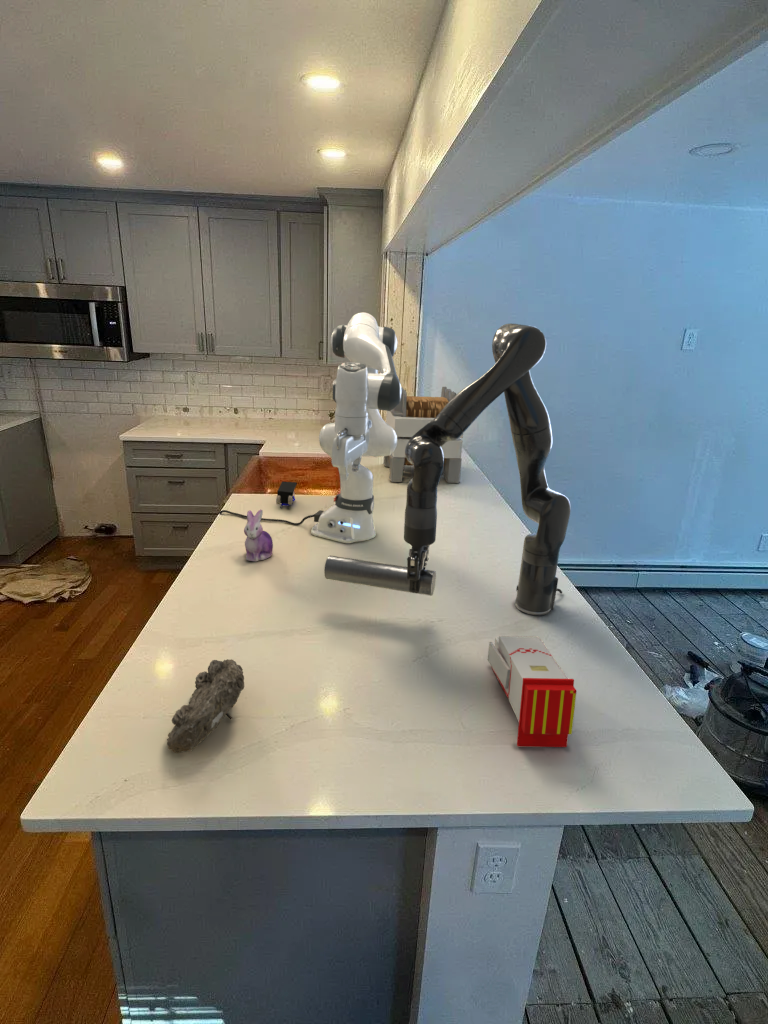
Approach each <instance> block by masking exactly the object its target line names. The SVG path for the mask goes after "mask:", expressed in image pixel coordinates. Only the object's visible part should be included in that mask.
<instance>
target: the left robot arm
mask: <svg viewBox="0 0 768 1024" xmlns="http://www.w3.org/2000/svg"><path fill="white" fill-rule="evenodd" d="M330 347H331V349H332V353H333V354H334V355H335V356H336V357H338V358H342V359H345V358H347V360H348V361H346V362H342V363H340V364H339V365H338V366H337V371H336V377H335V379H334V380H333V381H332V400H333V401H334V402H335V405H336V406H335V411H334V422H330V423H325V424H324V425H323V426H322V427H321V429H320V431H319V434H318V442H319V446H320V448H321V450H322V451H323V452H324V453H325V454H327V455H328V456H329V457H330V459H331V465H332V467H333V468H337V470H338V473H339V483H340V484H339V485H340V488H339V489H340V490H339V491H338V492H337V494H336V495H335V496H334V497H333V502H334V504H333V505H331V506H329V507H328V508H326V509H325V510H322V509H321V510H318V511H317V512H315V513H314V514H310V515H306V516H305V517H303V518H302V519H301V520H300V521H299V522H292V521H289V520H285V519H278V518H277V519H276V518H264V517H262V518H261V521H264V522H279V523H286V524H289V525H293V526H300V525H302V524H303V523H304V522H305V520H307V519H311V518H313V522H314V523H315V524H314V525H313V526H312V528H311V530H310V533H311V536H315V537H319V538H323V539H326V540H330V541H336V542H339V543H343V544H352V543H357V542H365V541H368V540H372V539H373V538H375V537H376V535H377V532H376V528H375V523H374V513H373V512H374V509H375V496H374V474H373V472H372V471H371V469H369V468H368V467H366V466H365V465H363V464H362V463H361V461H362V459H363V457H364V458H384V456H389V455H391V454H392V453H393V452H394V450H395V449H396V446H397V435H396V433H395V431H394V429H393V428H392V427H391V426H389V425H388V424H387V423H386V420H384V419H383V417H382V415H381V414H380V411H386V412H387V411H391V410H392V409H394V408H395V407H396V406H398V405H399V403H400V400H401V394H402V390H401V387H402V385H401V382H400V378H399V377H398V374H397V369H396V366H395V363H394V359H393V357H394V356H395V353H396V351H397V349H398V337H397V335H396V331H395V330H394V328H391V327H388V326H379V324H378V321H377V320H376V317H375V316H374V315H372V314H370V313H368V312H357V313H355V314H353V316H351V317H350V319H349V321H348V323H347V324H340V325H337V326H335V328H333V329H332V333H331V336H330ZM223 513H227V514H230V515H234V516H237V517H241V518H245V519H247V515H245V514H241V513H238V512H233V511H231V510H226V509H222V510H220V511H219V512H218V515H221V514H223Z"/></svg>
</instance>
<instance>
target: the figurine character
mask: <svg viewBox="0 0 768 1024" xmlns="http://www.w3.org/2000/svg"><path fill="white" fill-rule="evenodd" d="M297 484H298V482H296V481H295V482H294V481H284V480H283V481H281V483H280V485H279V487H278V489H277V494H276V498H275V499H276V500H275V503H276V505H279V508H280V509H283V506H285V507H287V509H290V508H291V506H292V505H293V503H294V502H295V501H296V497H295V496H296V492H295V489H296V488H297Z"/></svg>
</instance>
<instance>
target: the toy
mask: <svg viewBox="0 0 768 1024" xmlns="http://www.w3.org/2000/svg"><path fill="white" fill-rule="evenodd" d="M488 643H489V644H488V651H487V658H486V659H487V662H488V664H489V666H490V668H491V669H492V672H493V674H494V675H495V677H496V679H497V681H498V682H499V684H500V687H501V688H502V691H503V692H504V694H505V697H507V699H508V702H509V705H510V706H511V709H512V710H513V713H514V714H515V717H516V720H517V721H518V728H517V729H518V730H517V741H516V746H517V747H520V748H521V747H522V748H523V747H525V748H527V747H529V748H531V747H532V748H533V747H534V748H545V747H546V748H567V747H568V740H569V735H572V733H573V725H574V716H575V708H576V700H577V689H576V687H575V686H574V685H575V679H574V678H569V677H568V676H567V675H566V673H565V672H564V670H563V669H562V668H561V667H560V665H559V663H558V662H557V661H556V659H555V658H554V656H553V654H552V653H551V652H550V650H549V649H548V648H547V646H546V644H545V642H544V641H543V640H542V639H541V638H540V636H534V635H533V636H532V635H530V636H527V635H526V636H525V635H524V636H523V635H498V637H497V636H496V637H494V643H493V641H489V642H488Z"/></svg>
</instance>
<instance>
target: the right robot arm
mask: <svg viewBox="0 0 768 1024" xmlns="http://www.w3.org/2000/svg"><path fill="white" fill-rule="evenodd" d="M491 348H492V349H491V350H492V351H491V352H492V356H493V360H494V364H493V366H492V367H490V368H489V369H488V370H487V371H486V372H485V373H484V374H482V375H481V376H480V377H478V378H477V379H476V380H474V381H472V382H471V383H470V384H468V385H467V386H465V387H464V388H462V389H461V390H460V391H459V392H457V393H456V395H455V396H454V397H453V398H452V399H451V400H450V402H449V403H448V404H447V405H446V406H445V407H444V408H443V409H442V411H441V412H440V413H439V414H438V415H437V417H436V418H435V419H433V420H432V421H431V422H429V423H428V424H426V425H425V426H424V427H423V428H421V429H420V430H419V431H418V432H417V433H415V434H414V435H413V436H412V437H411V439H410V440H409V441H408V443H407V445H406V448H405V456H406V458H407V460H408V461H409V462H410V463H411V464H412V465H414V466H413V473H412V474H413V475H412V478H411V479H409V481H408V483H407V486H406V503H405V509H404V524H403V525H404V526H403V540H404V542H405V543H407V544H409V545H410V546H411V548H409V551H408V556H407V558H406V560H407V561H406V563H407V565H406V567H407V579H410V587H409V591H410V592H411V593H410V592H409V593H410V594H417V593H418V592H419V581H420V573H421V570H423V569H425V570H426V567H427V565H428V561H429V556H430V555H429V554H430V546H431V545H433V544H434V543H436V537H437V524H438V522H437V521H438V509H437V507H438V506H437V503H438V488H439V484H440V481H441V478H442V475H443V474H442V470H443V466H444V454H443V450H442V448H441V447H442V446H443V445H444V444H445V443H446V442H448V441H454V440H457V439H458V438H459V437H460V436H461V435H462V434H463V435H464V433H465V432H466V431H467V430H468V429H469V428H470V426H471V425H472V424H473V423H474V422H475V421H476V420H477V418H478V417H479V416H480V415H481V414H482V413H483V412H484V411H485V410H486V409H487V408H488V407H489V406H491V405H492V403H493V402H494V401H496V399H498V398H499V397H500V396H501V395H502V394H503V395H504V401H505V405H506V410H507V415H508V416H507V417H508V420H509V421H508V422H509V427H510V428H509V429H510V433H511V437H512V444H513V448H514V451H515V452H514V453H515V455H516V463H517V469H518V473H519V482H520V497H521V506H522V510H523V514H525V517H527V518H528V519H529V520H530V521H532V522H534V523H536V524H538V526H537V530H536V532H532V533H529V534H527V535H526V536H525V537H524V540H523V546H522V553H521V562H520V569H519V574H518V582H517V586H516V587H515V588H516V590H515V591H516V598H515V601H514V606H515V608H516V609H517V610H519V611H520V612H521V613H524V614H527V615H531V616H545V615H547V614H549V613H550V612H551V611H554V607H555V602H556V595H557V592H559V594H563V590H561V588H558V584H559V577H558V576H557V571H558V570H557V569H558V563H559V556H560V551H561V548H562V545H563V543H564V541H565V539H566V535H567V530H568V526H569V522H570V517H571V502H570V500H569V498H568V497H567V496H566V495H564V494H562V493H560V492H558V491H555V490H553V489H551V488H550V487H549V484H548V481H547V475H546V463H547V460H548V458H549V456H550V453H551V451H552V447H553V432H552V425H551V419H550V416H549V412H548V409H547V407H546V406H545V403H544V402H543V400H542V398H541V396H540V394H539V393H538V390H537V388H536V386H535V384H534V381H533V379H532V376H531V370H532V369H533V368H534V367H535V366H536V365H538V364H539V362H540V361H541V360H542V359H543V357H544V354H545V352H546V348H547V338H546V336H545V334H544V332H543V331H541V329H539V328H538V327H536V326H532V325H529V324H521V323H505V324H502V325H501V326H500V327H499V328H497V330H496V332H495V333H494V335H493V338H492V342H491ZM412 572H415V574H412Z"/></svg>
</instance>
